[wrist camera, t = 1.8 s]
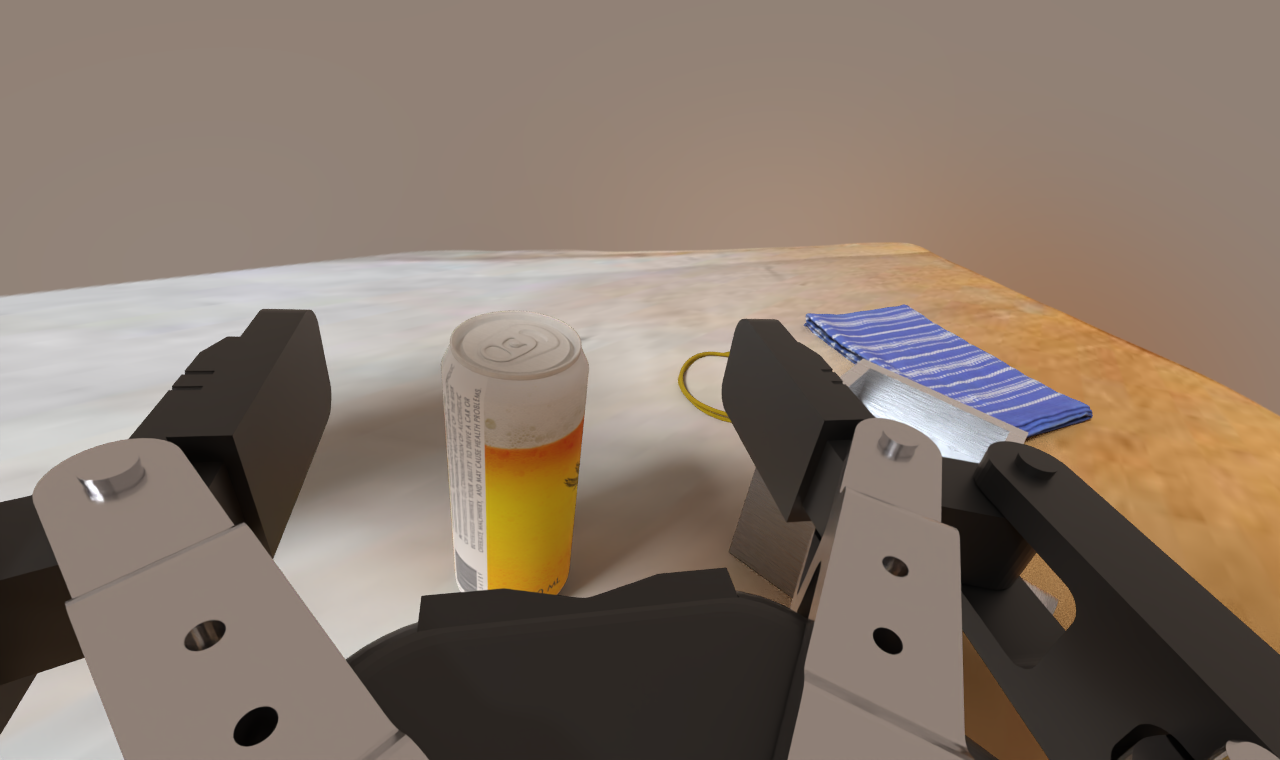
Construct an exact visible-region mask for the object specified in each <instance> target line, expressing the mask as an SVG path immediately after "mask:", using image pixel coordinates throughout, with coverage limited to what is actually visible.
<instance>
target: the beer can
mask: <svg viewBox="0 0 1280 760" xmlns="http://www.w3.org/2000/svg"><path fill="white" fill-rule="evenodd" d="M588 373H589V364H588V361H587V358H586V356H585V354H584V352H583V350H582V347H581V340H580V337H579V335H578V334H577V332H576V331H575V330H574V329H573V328H572V327H570V326H569V325H568V324H566V323H564V322H562V321H560V320H558V319H556V318H553V317H550V316H547V315H544V314H539V313H534V312H527V311H498V312H491V313H486V314H482V315H478V316H475V317H473V318H470V319H468V320H466V321H464V322H463V323H461V324H460V325H459V326H458V327H457V328H456V329H455V330H454V331H453V333H452V335H451V338H450V344H449V346H448V348H447V350H446V352H445V354H444V356H443V358H442V361H441V374H442V388H443V403H444V418H445V432H446V447H447V462H448V476H449V491H450V506H451V520H452V535H453V550H454V564H455V577H456V582H457V585H458V587H459V590H460V591H461V592H469V591H480V590H491V589H501V588H506V589H513V590H521V591H529V592H537V593H545V594H553V595H557V594H558V593H559V592H560V590H561V589H562V588H563V586H564V584H565V582H566V580H567V577H568V574H569V567H570V557H571V547H572V537H573V526H574V516H575V506H576V496H577V485H578V475H579V465H580V455H581V444H582V434H583V424H584V414H585V403H586V393H587V383H588Z"/></svg>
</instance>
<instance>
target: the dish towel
mask: <svg viewBox="0 0 1280 760" xmlns="http://www.w3.org/2000/svg"><path fill="white" fill-rule="evenodd" d="M805 317H806V322H807V323H805V324H804V326H808V328H809V329H810V330H811V331H812V332H813V333H814V334H815V335H816V336H818V337H819V338H820V339H822V340H823V341H825V342H826V343H827V344H829V345H830V346H831V347H832V348H834V349H835V350H837V351H838V352H839V353H841V354H842V355H843V356H844V357H846V358H847V359H848V360H850V361H851V362H853V363H854V364H855V365H856V364H857V363H858V362H860V361H861V360H862V359H865V360H868V361H870V362H872V363H874V364H877V365H879V366H881V367H883V368H885V369H888V370H890V371H892V372H894V373H897V374H899V375H901V376H903V377H905V378H908V379H910V380H912V381H914V382H917V383H919V384H921V385H923V386H926V387H928V388H930V389H932V390H934V391H937V392H939V393H941V394H943V395H946V396H948V397H950V398H952V399H955V400H957V401H959V402H961V403H963V404H966V405H968V406H970V407H972V408H975V409H977V410H979V411H981V412H983V413H986V414H988V415H990V416H992V417H995V418H997V419H999V420H1001V421H1004V422H1006V423H1008V424H1010V425H1012V426H1015V427H1017V428H1019V429H1021V430H1024V431H1026V432H1028V435H1027V437H1026V438H1028V437H1031V436H1034V435H1037V434H1041V433H1045V432H1049V431H1053V430H1056V429H1059V428H1062V427H1066V426H1070V425H1073V424H1077V423H1081V422H1083V421H1085V420H1088V419H1090V418H1092V416H1093V415H1092V410H1090V407H1089V406H1088V405H1086V404H1084V403H1082V402H1080V401H1077V400H1075V399H1072V398H1069V397H1067V396H1065V395H1063V394H1061V393H1058V392H1056V391H1054V390H1052V389H1051V388H1049V387H1047V386H1045V385H1043V384H1042V383H1040V382H1038V381H1036V380H1034V379H1032V378H1029V377H1027V376H1026V375H1024V374H1022V373H1021V372H1019V371H1018V370H1016V369H1014V368H1012V367H1010V366H1009V365H1007V364H1006V363H1004V362H1003V361H1001V360H999V359H998V358H996V357H994V356H993V355H991V354H989V353H987V352H985V351H983V350H981V349H979V348H978V347H975V346H974V345H971V344H969V343H968V342H966V341H965V340H963V339H962V338H960V337H958V336H956V335H955V334H953V333H951V332H949V331H947V330H945V329H943V328H942V327H940V326H939V325H937V324H934V323H933V322H931V321H930V320H928V319H927V318H926V317H924V316H923V315H922V314H920V313H919V312H917V311H915V310H913V309H912V308H910V307H909V306H907V305H901V306H898V307H887V308H882V309H876V310H869V311H860V312H854V313H848V314H840V315H834V314H806V316H805Z"/></svg>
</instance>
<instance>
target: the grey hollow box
mask: <svg viewBox="0 0 1280 760" xmlns="http://www.w3.org/2000/svg"><path fill="white" fill-rule="evenodd" d="M840 378H841V379H842V381H843V384H846V385H847V386H848V387H849V388H850V390H851V391H852V392H853V393H854V394H855V395H856V396H857V397H858V398H859V400H860V401H861V402H862V403H863V404H864V405H865V406H866V407H867V409H868V410H869V411H870V412H871V413H872V414H873V415H874V416H875V417H876V418H885V419H891V420H895V421H898V422H901V423H904V424H907V425H909V426H911V427H913V428H915V429H917V430H919V431H920V432H922V433H923V434H925V435H926V436H928V437H929V438H930V439H931V440H932V441H933V442H934V443H935V444H936V445H937V447H938V448H939V450H940V452H941V455H942V457H947V458H953V459H958V460H964V461H969V462H974V463H980V461H981V459H982V458H983V456H984V454H985V452H986V451H987V449H988V447H989V446H990V445H991V444H993V443H995V442H999V441H1010V442H1017V443H1021V444H1024V442H1025V440H1026V437H1027V435H1028V432H1026V431H1024V430H1021V429H1019V428H1017V427H1015V426H1012V425H1010V424H1008V423H1006V422H1004V421H1001V420H999V419H997V418H995V417H992V416H990V415H988V414H986V413H983V412H981V411H979V410H977V409H975V408H972V407H970V406H968V405H966V404H963V403H961V402H959V401H957V400H955V399H952V398H950V397H948V396H946V395H943V394H941V393H939V392H937V391H934V390H932V389H930V388H928V387H926V386H923V385H921V384H919V383H917V382H914V381H912V380H910V379H908V378H905V377H903V376H901V375H899V374H897V373H894V372H892V371H890V370H888V369H885V368H883V367H881V366H879V365H877V364H874V363H872V362H870V361H868V360H865V359H862V360H861V361H860V362H858V363H857V364H856V365H855V366H853V367H852V368H851V369H850V370H848V371H847V372H846V373H845V374H843V375H842V376H841V377H840ZM814 528H815V526H814V524H813V522H812V521H803V522H789V523H786V521H785V519H784V517H783V515H782V514H781V512H780V510H779V508H778V506H777V505H776V503H775V501H774V499H773V497H772V495H771V494H770V492H769V490H768V488H767V486H766V484H765V483H764V481H763V479H762V477H761V475H760V473H759V472H758V470H757V468H756V469H755V472H754V475H753V478H752V481H751V484H750V487H749V491H748V494H747V497H746V500H745V503H744V506H743V509H742V512H741V516H740V519H739V522H738V525H737V528H736V531H735V534H734V537H733V541H732V544H731V547H730V550H729V553H731V554H732V555H733V556H735V557H736V558H738V559H739V560H740V561H742V562H743V563H745V564H746V565H747V566H749V567H750V568H752V569H753V570H754V571H756V572H757V573H759V574H760V575H761V576H763V577H764V578H765V579H767V580H768V581H770V582H771V583H772V584H774V585H775V586H777V587H778V588H779V589H781V590H782V591H784V592H785V593H786V594H788V595H789V596H791V597H792V598H793V596H794V592H795V589H796V585H797V582H798V578H799V575H800V571H801V568H802V564H803V561H804V558H805V554H806V551H807V547H808V544H809V540H810V538H811V535H812V533H813V531H814ZM1023 580H1024V579H1023ZM1024 582H1025V583H1026V584H1027V585H1028V586H1029V588H1030V589H1031V590H1032V591H1033V592H1034V594H1035V595H1036V596H1037V597H1038V598H1039V600H1040V601H1041V602H1042V603H1043V604H1044V606H1045V607H1046V608H1047V609H1048V610H1049V612H1050V613H1051V614H1052V615H1053V613H1054V611H1055V609H1056V606H1057V603H1058V599H1057V598H1056V597H1054V596H1052V595H1051V594H1049V593H1047V592H1045V591H1044V590H1042V589H1040V588H1038V587H1036V586H1035V585H1033V584H1031V583H1029V582H1028V581H1026V580H1024Z"/></svg>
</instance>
